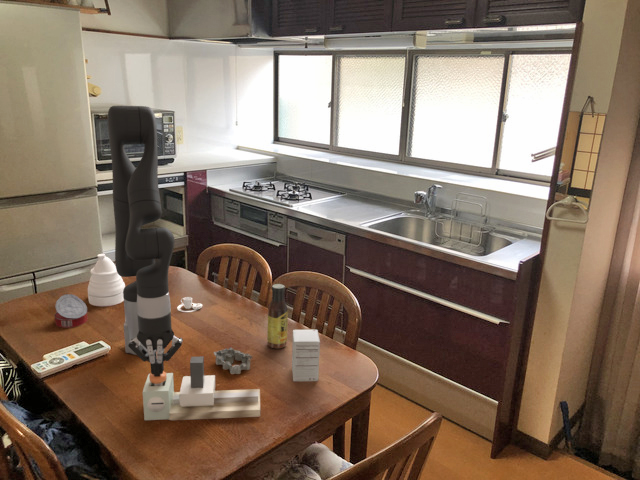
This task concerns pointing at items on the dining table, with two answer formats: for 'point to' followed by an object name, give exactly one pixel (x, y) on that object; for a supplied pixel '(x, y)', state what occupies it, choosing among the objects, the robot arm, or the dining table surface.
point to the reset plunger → (158, 379)
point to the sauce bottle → (277, 318)
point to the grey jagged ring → (229, 355)
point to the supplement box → (305, 355)
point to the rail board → (220, 406)
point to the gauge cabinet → (158, 399)
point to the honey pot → (105, 283)
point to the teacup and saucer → (189, 305)
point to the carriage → (197, 385)
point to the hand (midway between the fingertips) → (157, 374)
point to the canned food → (70, 311)
